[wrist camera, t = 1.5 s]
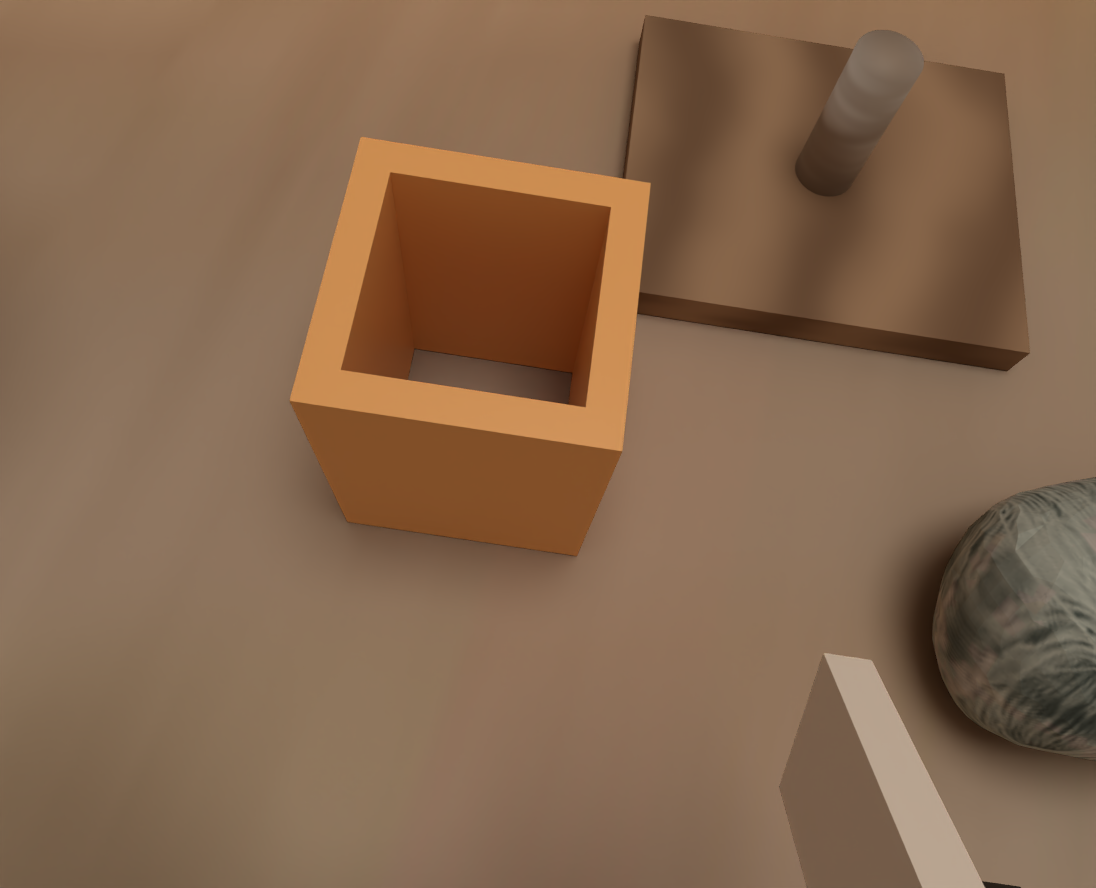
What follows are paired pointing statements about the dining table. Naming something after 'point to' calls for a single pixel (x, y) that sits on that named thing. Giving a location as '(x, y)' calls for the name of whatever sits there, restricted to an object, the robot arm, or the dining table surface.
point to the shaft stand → (827, 193)
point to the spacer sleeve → (473, 343)
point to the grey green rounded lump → (1025, 620)
